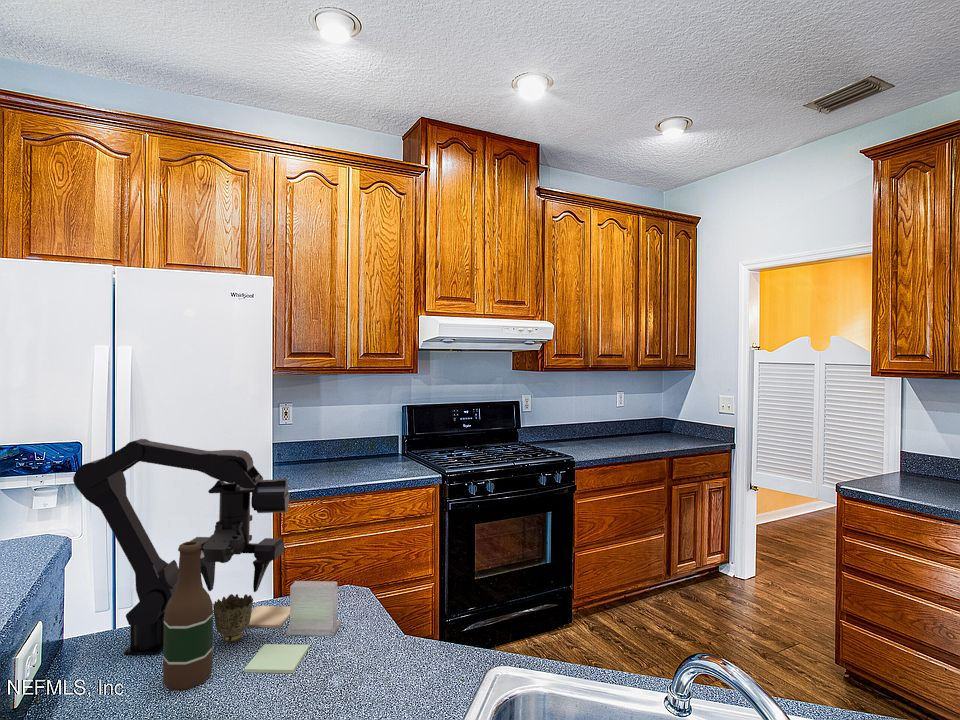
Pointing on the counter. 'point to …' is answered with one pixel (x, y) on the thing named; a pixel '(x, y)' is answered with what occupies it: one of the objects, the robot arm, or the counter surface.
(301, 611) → the box
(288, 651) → the sage mat
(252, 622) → the oak mat
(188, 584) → the beer bottle
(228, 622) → the brown ornate lampshade
